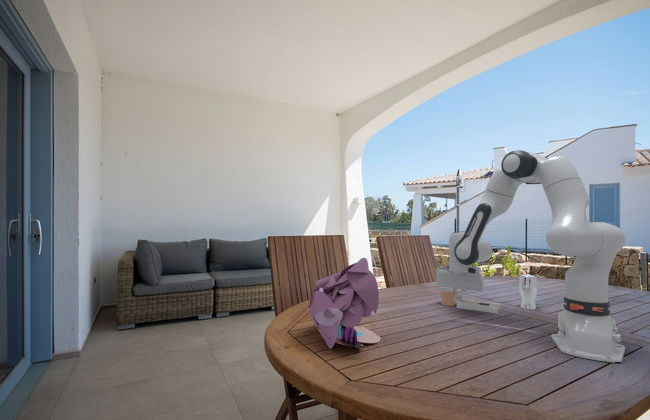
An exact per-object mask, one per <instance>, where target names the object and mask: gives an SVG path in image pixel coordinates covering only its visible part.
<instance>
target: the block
mask: <svg viewBox="0 0 650 420" xmlns="http://www.w3.org/2000/svg"><path fill="white" fill-rule="evenodd" d="M441 305H442V306H447V307H455V306H456V305H457V298H456V294H455V293H454V291H453V289H452V290H450V289H443V290H441Z"/></svg>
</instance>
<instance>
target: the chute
mask: <svg viewBox="0 0 650 420" xmlns="http://www.w3.org/2000/svg"><path fill="white" fill-rule="evenodd" d="M500 307H501V304H500V303H497V302H496V303H495V302H487V301H480V300H473V299H466V298H465V299H464V298H463V299H459V301H456V308H457V309H463V310H468V311H469V310H470V311H478V312H485V313H492V314H499V312H500V309H501V308H500Z"/></svg>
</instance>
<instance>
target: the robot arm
mask: <svg viewBox="0 0 650 420" xmlns="http://www.w3.org/2000/svg"><path fill="white" fill-rule="evenodd" d="M522 184H526V185H540V184H541V185H542V188H543V191H544V193H545V196H546V199H547V201H548V204H549V207H550V209H551V215H552V222H551V226H550V228H549V229H548V230H547V232H546V234H545V240H546V241H545V242H546V244H547V247H548V248H549V249H550V251H552V252H553V253H555V254H558V255H561V256H567V257H575V260H574V261H573V263H572V265H571V266H570V267H569V268H568V269H567V271H565V274H564V296H563V300H562V303H563V304H562V306H563V308H564V309H563V310H561V311H560V312H559V313H558V316H557V317H558V318H557V319H558V320H557V321H558V322H557V324H558V325H557V333H552V334H551V336H550V338H551V340H552V341H553V342H554V344H555V345H556V346H557V348H558V349H559V351H560V352H562V353H563V354H567V355H570V356H573V357H577V358H582V359H587V360H591V361H592V360H593V361H598V362H599V361H600V362H605V361H606V363H615V362H621V363H622V362H623V360H624V359H623V358H624V356H625V352H626V346H625V345H623V344H621V343H622V341H621V339H622V337H621V334H620V333H619V327H617V323H616V320H615V319H614V318H613V317H611V309H612V308H611V303H610V301H609V279H610V278H609V277H610V271H611V268H612V266H613V262H614V260H615V258H616V256H617V254H618V253H619V252H620V251H621V250H622V249H623V248H624V247H625V244H626V235H625V233H624V231H623V230H622V229H621V228H620V227H618V226H616V225H614V224H611V223H608V222H603V221H602V222H601V221H589V220H588V218H587V208H588V207H589V206H590V203H591V198H590V196H589V193H588V191H587V190H586V188H585V185H584V182H583V180H582V179H581V177H580V175H579V173H578V171H577V169H576V168H575V166H574V165H573V163H572V162H571V161H570V160H569V159H568V158H567V157H565V156H562V155H556V156H550V157H547V156H543V155H540V154H538V153H535V152H531V151H526V150H520V149H519V150H512V151H509V152H508V153H507V154H505V156H504V157H503V158H502V161H501V164H500V166H498V167H496V168H495V169H494V171H493V173H492V174H491V176H490V178H489V179H488V182H487V185H486V187H485V189H484V193H483V195H482V197H481V200H480V202H479V204H478V205H477V207H476V209H475V210H474V212H473V214H472V216H471V217H470V220H469V223H468V224H467V227H466V229H465V230H461V231H455V232H452V233H451V234H450V235H449V240H448V253H449V258H448V266H442V265H439V266H437V267H436V268H435V275H436V276H435V277H436V278H435V285H436V287H440V288H441V287H442V288H451V289H452V291H454V293H455V294H456V300H457V299H459V300H460V299H464V294H465V293H466V290H467V291H468V290H469V291H478V292H482V291H484V289H485V281H484V280H485V279H484V276H483V274H482V273H481V272H482V268H481V267H479V266H478V265H477V266H476V265H474V264H479V263H483V262H486V261H489V260H490V259H491V258H492V256H493V253H494V249H493V247H492V245H491V243H489V241H487V240H484V239H481V238H482V237H483V234H484V232H485V230H486V227H487V226H488V224H489V223H491V221H492V220H494V219H496V218H498V217H499V216H501V215H503V214H505V213H507V211H508V210H509V209H510V207H511V205H512V203H513V201H514V198H515V195H516V192H517V191H518V188H519V187H520V186H521V185H522ZM458 289H460V290H461V292H462V293H458ZM619 343H620V344H619Z"/></svg>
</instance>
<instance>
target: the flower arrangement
mask: <svg viewBox="0 0 650 420" xmlns="http://www.w3.org/2000/svg"><path fill="white" fill-rule="evenodd" d="M379 295H380V294H379V285H378V282H377V279H376V276H375V274H374V273H373V272H372V270H370V269H369V261H368V258H366V257H362V258H360V259H359V260H358V261H357V262H354V263H352V264H349V265H347V266H346V267H345V268H344V269H342V270H341V271H339V272H336V273H334V274H331V275H329V276H326V277H324V278H321V279H318V280H316V281H315V284H314V288H313V291H312V294H311V298H310V301H309V304H308V308H309V313H310V319H311V320H312V322H313V323H314V325H315V327H316V328H317V330H318V332H319V333H320V336H322V338H323V340H324V342H325V344H326V346H328V348H329V350H331V349H332V348H333V347H334V346H335V343H336V344H339V345H343V346H347V347H354V348H359V349H360V348H361V347H364V345H363V344H361V343H364V344H376V343H379V342H381V337H380V336H378V335H377V334H376V333H375V332H373V331H372V330H370V329H368V328H366V327H363V326H360V327H359V326H358V325H359V324H360V323H361V321H363V318H370V316H372V314H373V313H374V314H377V312H378V308H379V301H380V297H379Z"/></svg>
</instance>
